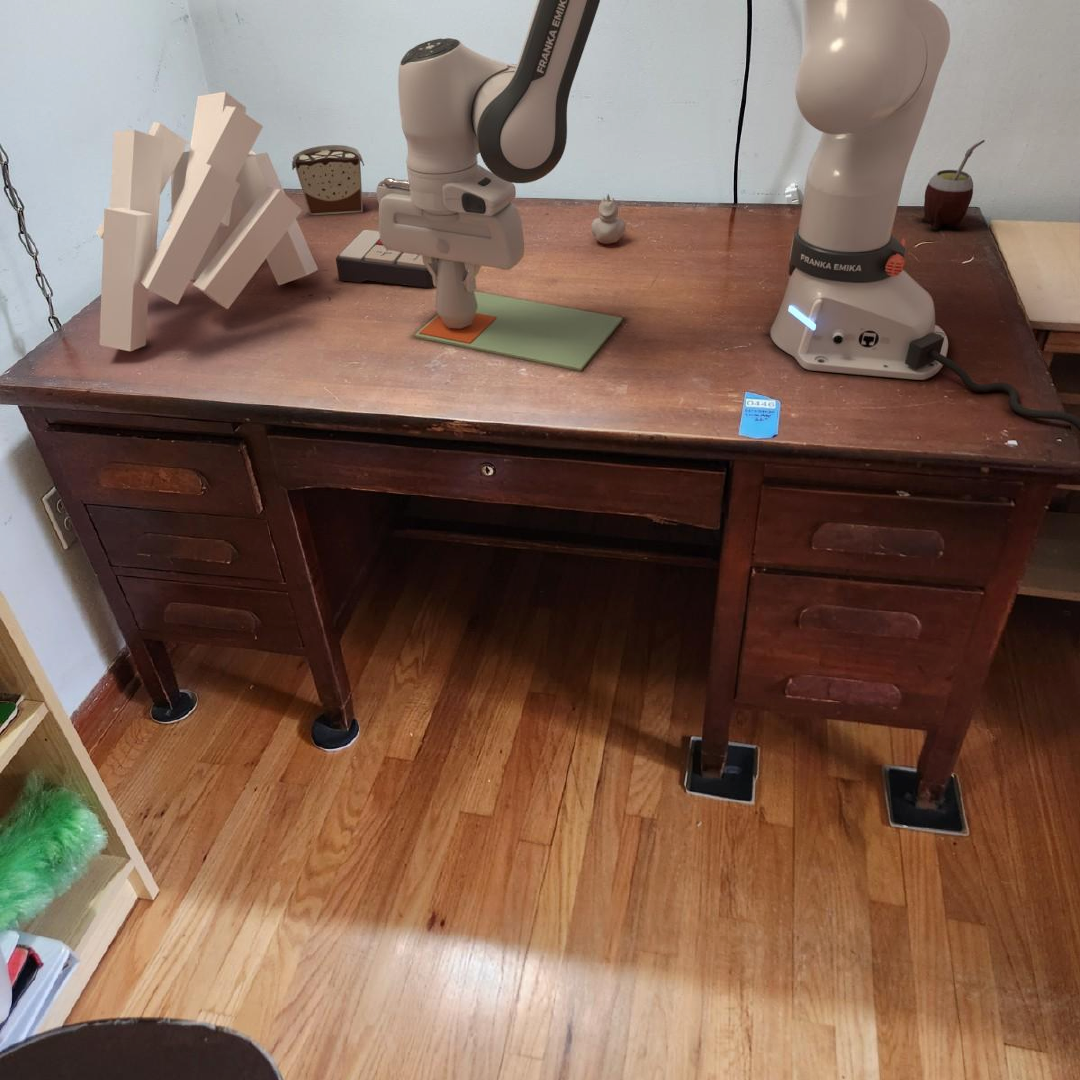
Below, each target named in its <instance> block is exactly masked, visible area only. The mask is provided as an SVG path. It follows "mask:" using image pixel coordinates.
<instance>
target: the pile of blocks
mask: <svg viewBox="0 0 1080 1080" xmlns="http://www.w3.org/2000/svg"><path fill="white" fill-rule="evenodd" d="M195 105H196V106H195V112H194V118H193V119H194V120H193V125H192V133H191V138H190V145H189V151H185V149H186V148H187V146H188V144H189V141H188V140H186V139H185V138H183V137H182V136H180V135H179V134H177V133H176V132H175V131H173V130H172V129H170V128H169V127H167V126H165V125H163V124H162V123H161V122H157V121H153V123H152V125H151V127H150V128H149V130H148V132H147V133H146V132H143V131H139V130H136V129H129V130H117V131H116V130H115V131H113V143H112V144H113V145H112V161H111V162H112V163H111V179H110V180H111V181H110V183H111V184H110V200H109V201H110V202H109V207H105V208H104V210H103V211H104V212H103V213H104V215H103V218H102V220H101V222H100V224H99V226H98V228H97V230H96V232H95V233H96V234H97V236H98V237H99V238H100V239H102V240H103V241H102V264H101V265H102V266H101V267H102V269H101V291H100V293H101V294H100V316H99V317H100V318H99V319H100V321H99V342H98V343H99V346H102V347H107V348H110V349H111V348H112V349H116V350H121V351H127V352H132V351H135V350H137V349H140V348H142V347H145V346H146V345H147V344H146V343H147V328H148V327H147V326H148V309H149V308H148V307H149V291H151V292H152V293H154V294H156V295H158V296H159V297H161V298H163V299H165V300H167V301H169V302H171V303H173V304H175V305H179V303H180V301H181V299H182V297H183V295H184V294H185V291H186V290H187V288H188V286H189V284H190V283H193V284H192V286H194V288H196V289H198V290H199V291H201V293H203V294H204V295H205V296H206V297H208V298H209V299H210V300H211V301H213V302H214V303H215V304H217V305H219V306H221V307H223V308H225V310H229V308H230V307H231V306H232V304H233V303H234V302H235V301H236V299H237V298H238V296H240V294H241V292H242V291H243V290H244V288H245V287H246V286H247V284H248V283H249V282H250V280H251V279H252V278H253V277H254V275H255V274H256V272H257V271H258V270H259V269H260V267H262V264H263V263H265V261H267V263H268V266H269V268H270V271H271V273H272V275H273V277H274V279H275V281H276V283H277V286H280V285H284V284H287V283H289V282H292V281H295V280H299V279H301V278H303V277H307V276H308V275H310V274H312V273H315V272H316V271H318V270H319V268H318V266H317V264H316V262H315V259H314V257H313V255H312V253H311V250H310V247H309V245H308V243H307V241H306V238H305V236H304V234H303V232H302V230H301V227H300V224H299V222H298V220H297V218H298V217H299V215H300V214H301V213H302V212H303V210H302V208H300V207H299V206H298V204H296V203H295V202H294V201H293V200H292V199H291V198H290V197H288V196H287V195H286V193H285V190H284V188H283V185H282V183H281V181H280V179H279V177H278V174H277V172H276V170H275V167H274V164H273V162H272V159H271V158H270V155H269V153H268V151H267V152H262V153H256V152H254V151H253V150H252V149H253V147H254V146H255V145H254V144H255V143H256V141H257V139H258V137H259V135H260V133H261V132H262V129H263V128H264V126H263V125H262V124H261V123H259V122H258V121H256V120H255V119H253V118H252V117H250V116H249V115H248V114H246V112H247V111H246V110H247V106H245V105H244V104H243V103H241V102H240V101H238V100H237V99H236V98H234V97H233V96H232V95H231V94H229V93H228V92H227V91H221V92H214V93H208V94H203V95H197V99H196V104H195ZM169 180H170V194H171V196H170V199H171V201H170V202H171V206H170V207H171V212H170V214H169V216H168V218H167V220H166V222H168V223H169V226H168V227H167V230H166V232H165V234H164V236H163V238H162V239H161V241H160V243H159V245H158V234H159V233H158V232H159V217H160V215H159V214H160V201H161V200H160V199H161V195H162V194H163V191H164V190H165V188H166V186H167V184H168V182H169Z"/></svg>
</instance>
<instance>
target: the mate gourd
mask: <svg viewBox="0 0 1080 1080" xmlns="http://www.w3.org/2000/svg"><path fill="white" fill-rule="evenodd" d="M983 143H985V139H983V140H981V141H978V142H976V143H974V144H973V145H971V147H969V148H968V149H967V150H966V151H965V153H964V157H963V159H962V161H961V163H960V165H959V167H958V169H943V170H939V171H937V172H936V173H935V174H934V175H933V176H931V178H930V179H929V181H928V183H927V185H926V187H925V191H924V202H923V212H924V213H923V214H924V215H923V217H922V218H921V222H922V223H926V224H930V225H933V226H931V228H930V231H931V232H937V231H938V230H940V229H941V228H948V229H950V230H951V229H952V230H956V231H959V230H961V227H962V226H961V225H960V224H961V222H962V221H963V219H964V218H965V216H966V214H967V212H968V209H969V207H970V204H971V202H972V199H973V196H974V195H973V194H974V180H973V179H972V176H971V175H970V174H969V173H968V172H966V171H963V170H964V167H965V165H966V164H967V162H968V160H969V158H970V157H971V156H972V154H973V153H974V150H976V148H977V147H979V146H980V145H981V144H983Z"/></svg>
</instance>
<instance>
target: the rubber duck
mask: <svg viewBox="0 0 1080 1080" xmlns="http://www.w3.org/2000/svg"><path fill="white" fill-rule="evenodd" d="M618 214H619V205H618V203H617V201H616V200H615V198H614V197H612V198H610V195H609V193H607V195H606V198H605V197H602V200H601V202H600V203H599V206H598V217H596V218H594V219H593V221H592V223H591V227H590V228H591V234H592V236H593V237H594V238H595V240H596V241H597V242H599V243H601V244H605V245H606V244H607V245H609V244H614V243H616V242H618V241H619V240H620V239H621V238H622V237H623V236H624V234H625V232H626V227H627V226H626V222H625V220H623V219H621V218H620V217H618Z"/></svg>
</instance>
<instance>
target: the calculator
mask: <svg viewBox="0 0 1080 1080" xmlns="http://www.w3.org/2000/svg"><path fill="white" fill-rule="evenodd" d="M438 259H439V258H438ZM438 259H437V261H438ZM335 263H336V269H337V277H338V280H339V281H343V282H351V283H359V284H361V283H363V282H365V281H371V282H378V283H388V284H395V285H402V286H410V287H417V288H424V289H429V288H431V287H432V285H433V278H432V275H431V274H430V272H429V271H428V269H427V268H426V266H425V265H424V263H423V258H422V255H416V254H410V253H404V252H398V251H392V250H387V249H386V248H385V247H384V245H383V244H382V243H381V241H380V233H379V230H372V229H371V230H370V229H363V230H362V231H360V232H359V234H358V235H357V236H355V237H354V239H353V240H352V241H350V243H349V244H348V245H347V246H346V247H345V248H344V249H343V250H342V251H341V252H340V253H338V255H337V256H336V257H335Z"/></svg>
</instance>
